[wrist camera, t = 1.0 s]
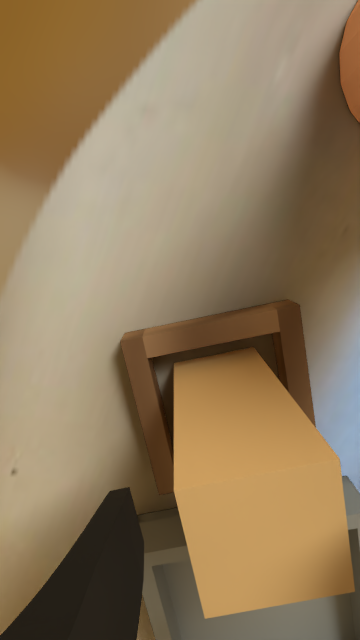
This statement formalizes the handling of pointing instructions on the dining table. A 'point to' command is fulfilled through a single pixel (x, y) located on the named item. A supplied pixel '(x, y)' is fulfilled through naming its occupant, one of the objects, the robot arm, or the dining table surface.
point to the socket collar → (202, 333)
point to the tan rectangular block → (255, 489)
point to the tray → (245, 627)
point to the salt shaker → (351, 62)
